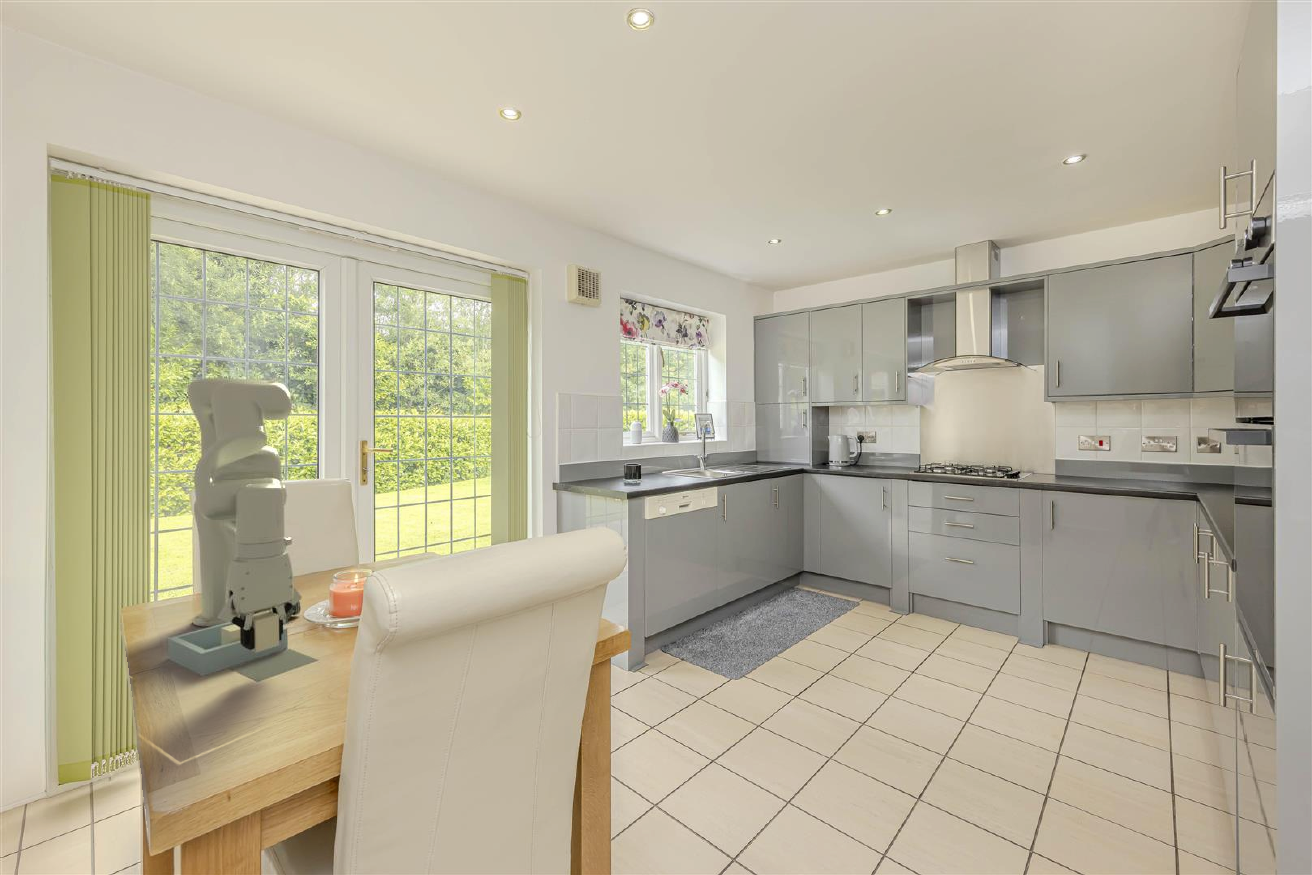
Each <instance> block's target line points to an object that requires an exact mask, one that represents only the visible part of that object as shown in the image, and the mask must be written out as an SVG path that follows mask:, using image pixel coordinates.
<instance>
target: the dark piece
mask: <svg viewBox="0 0 1312 875" xmlns="http://www.w3.org/2000/svg"><path fill="white" fill-rule="evenodd" d="M264 611H271V608H267V609H264V610H260V611H256V612H254V614H257V613H260V612H264ZM300 613H301V602H300V600H299V601H298V602H297V603H296V604H295V605H293V606H292V608H291V609H290V611H289V612H288V613H287V614H286V618H285V619H284V620H283V625H285V624H286V623H287V622H288V621H289V620H290V618H291V617H292V616H296V615H298V614H300Z"/></svg>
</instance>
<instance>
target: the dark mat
mask: <svg viewBox="0 0 1312 875" xmlns="http://www.w3.org/2000/svg"><path fill="white" fill-rule="evenodd" d="M317 661H318V659H317V658H314V657H312V656H308V655H306V654H304V653H301V652H299V651H297V650H294V649H290V648H286V649H283V650H280V651H277V652H274V653H271V654H268V655H265V656H262V657H259V658H256V659H253V660H250V661H247V662H243V663H240V664H237V665H234V666H231V667H228V668H229V670H231V671H234V672H236V673H238V674H240V675H242V676H244V677H247V678H249V679H251V680H253V681H254V682H261V681H264V680H266V679H269V678H273V677H275V676H278V675H281V674H283V673H287V672H290V671H292V670H294V669H297V668H301V667H304V666H306V665H309V664H311V663H314V662H317Z"/></svg>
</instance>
